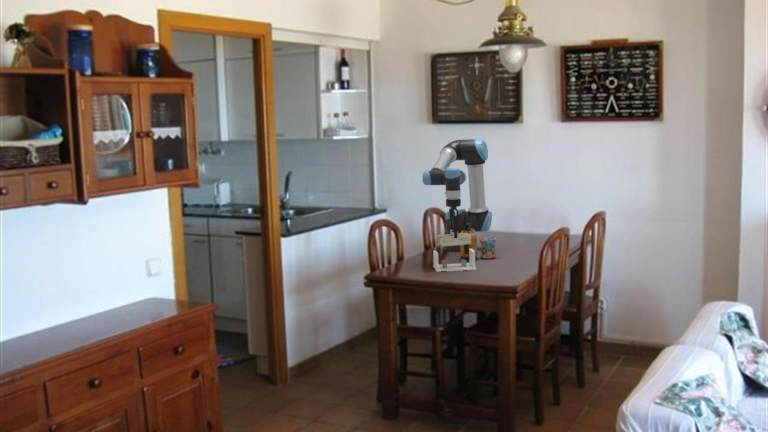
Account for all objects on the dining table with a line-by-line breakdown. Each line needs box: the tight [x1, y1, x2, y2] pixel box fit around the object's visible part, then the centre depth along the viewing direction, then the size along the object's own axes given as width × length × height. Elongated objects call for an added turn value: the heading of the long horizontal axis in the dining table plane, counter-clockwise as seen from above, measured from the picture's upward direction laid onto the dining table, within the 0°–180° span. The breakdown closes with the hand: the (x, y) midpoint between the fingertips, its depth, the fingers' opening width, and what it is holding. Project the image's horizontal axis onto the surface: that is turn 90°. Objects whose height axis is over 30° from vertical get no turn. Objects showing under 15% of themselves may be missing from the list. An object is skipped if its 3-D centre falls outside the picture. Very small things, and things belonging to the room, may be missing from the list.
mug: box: [479, 237, 497, 260], centre depth 434 cm, size 12×9×11 cm
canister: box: [459, 223, 478, 262], centre depth 429 cm, size 9×11×20 cm
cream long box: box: [437, 233, 471, 247], centre depth 407 cm, size 6×16×5 cm, turn 107°
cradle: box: [432, 249, 477, 273], centre depth 408 cm, size 14×20×9 cm
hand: (454, 243), depth 407 cm, fingers closed on cream long box, 7 cm apart
